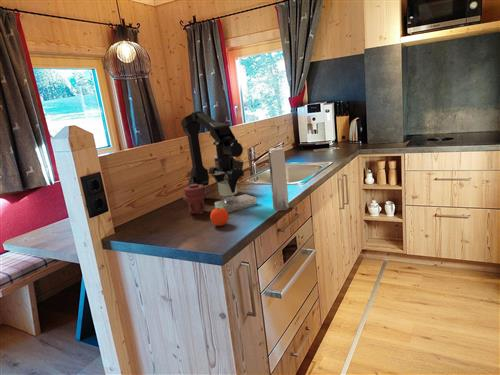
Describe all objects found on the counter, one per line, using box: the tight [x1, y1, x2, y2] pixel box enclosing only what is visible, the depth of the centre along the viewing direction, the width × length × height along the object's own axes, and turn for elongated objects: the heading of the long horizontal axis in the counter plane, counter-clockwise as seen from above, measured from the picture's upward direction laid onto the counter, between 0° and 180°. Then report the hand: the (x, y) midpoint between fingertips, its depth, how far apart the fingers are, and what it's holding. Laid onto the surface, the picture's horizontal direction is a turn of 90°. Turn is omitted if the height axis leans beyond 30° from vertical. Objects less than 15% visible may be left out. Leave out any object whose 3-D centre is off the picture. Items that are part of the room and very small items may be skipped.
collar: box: [217, 180, 238, 197], centre depth 154 cm, size 8×8×5 cm
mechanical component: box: [182, 184, 208, 215], centre depth 154 cm, size 12×10×10 cm
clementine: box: [209, 207, 229, 227], centre depth 136 cm, size 8×7×7 cm
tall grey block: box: [267, 147, 290, 212], centre depth 146 cm, size 6×6×25 cm
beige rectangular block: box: [214, 193, 258, 213], centre depth 157 cm, size 9×16×6 cm, turn 123°
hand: (228, 191), depth 155 cm, fingers closed on collar, 8 cm apart
